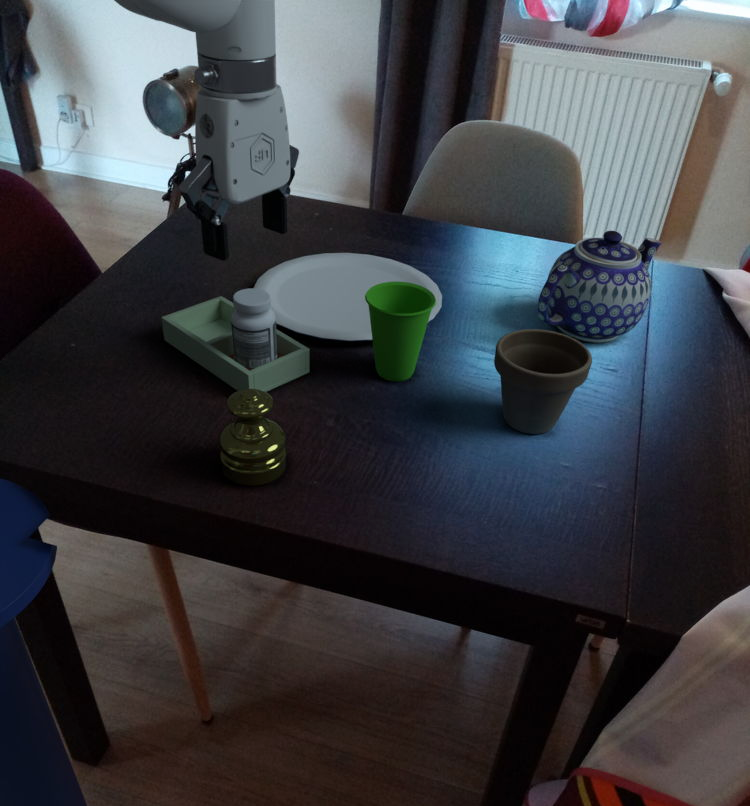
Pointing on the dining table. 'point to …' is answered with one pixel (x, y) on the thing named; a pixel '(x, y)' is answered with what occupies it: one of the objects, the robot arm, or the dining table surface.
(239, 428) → the brass tiered cylinder
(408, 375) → the cup
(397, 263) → the plate
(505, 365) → the flower pot
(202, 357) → the tray
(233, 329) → the pill bottle
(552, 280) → the teapot
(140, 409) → the dining table surface
